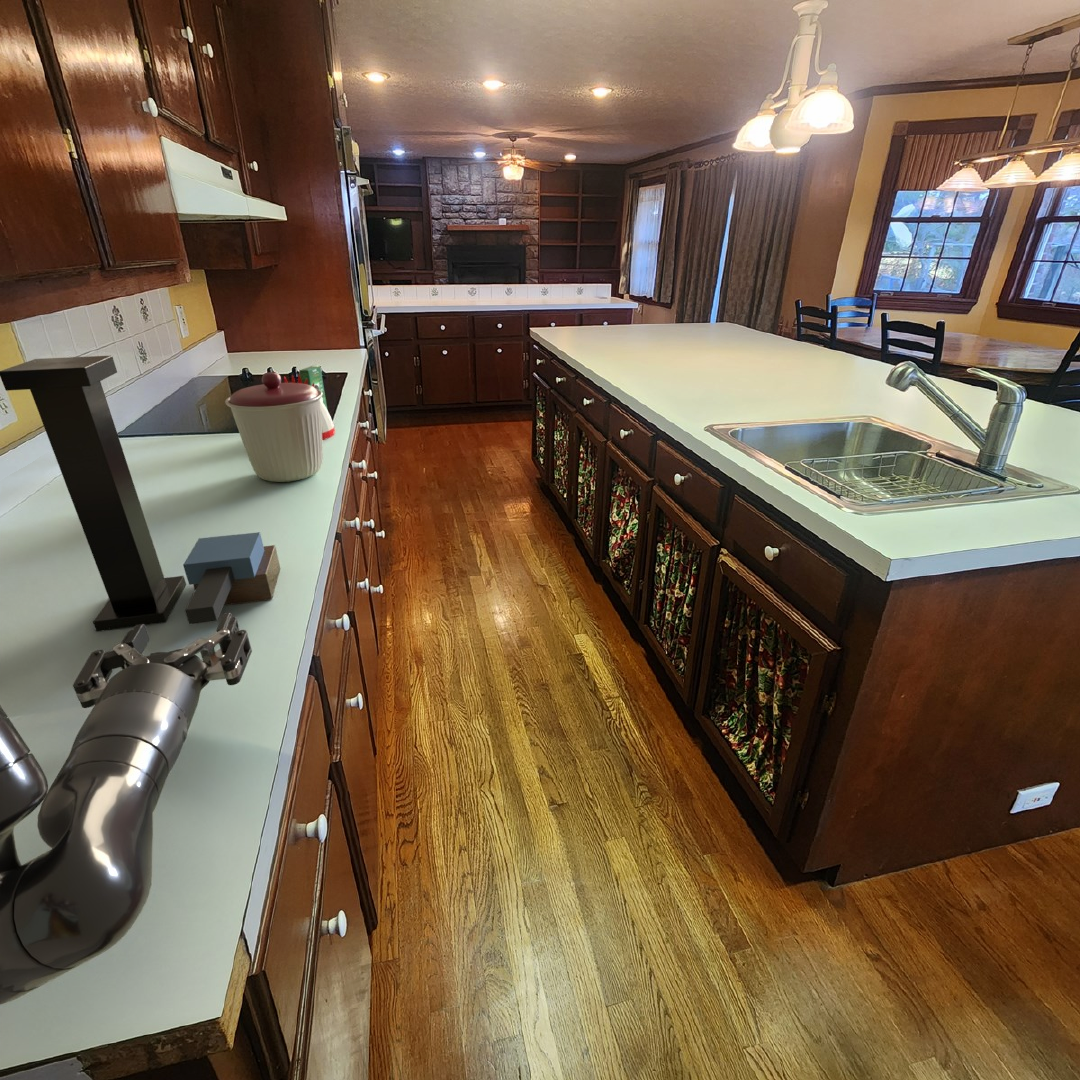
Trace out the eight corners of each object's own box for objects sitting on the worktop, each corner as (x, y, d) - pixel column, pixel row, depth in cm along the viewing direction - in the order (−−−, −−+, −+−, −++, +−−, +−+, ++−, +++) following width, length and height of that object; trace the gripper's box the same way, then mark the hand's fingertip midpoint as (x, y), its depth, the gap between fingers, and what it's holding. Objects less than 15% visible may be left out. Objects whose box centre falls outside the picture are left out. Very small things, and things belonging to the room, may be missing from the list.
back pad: (165, 627, 70) (158, 605, 69) (204, 557, 86) (198, 538, 84) (239, 618, 72) (234, 596, 70) (264, 550, 87) (260, 531, 86)
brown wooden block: (200, 608, 81) (192, 582, 79) (215, 576, 89) (208, 552, 87) (272, 599, 83) (265, 574, 81) (280, 568, 91) (275, 544, 89)
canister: (285, 457, 138) (266, 362, 129) (352, 465, 133) (337, 366, 124) (223, 483, 123) (197, 378, 114) (296, 494, 118) (275, 384, 108)
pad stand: (96, 631, 76) (-8, 373, 62) (124, 592, 85) (38, 357, 71) (166, 622, 78) (80, 369, 64) (186, 584, 87) (115, 354, 73)
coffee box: (319, 410, 176) (311, 364, 171) (328, 410, 176) (321, 364, 170) (306, 417, 169) (297, 370, 163) (316, 418, 169) (307, 370, 163)
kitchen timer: (277, 431, 157) (264, 372, 151) (332, 425, 162) (322, 367, 156) (278, 445, 146) (265, 383, 139) (337, 439, 151) (327, 377, 144)
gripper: (216, 680, 51) (249, 586, 66) (23, 710, 48) (101, 605, 62) (237, 746, 55) (264, 643, 69) (57, 778, 52) (124, 663, 66)
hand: (186, 625), depth 66 cm, fingers open, 8 cm apart
